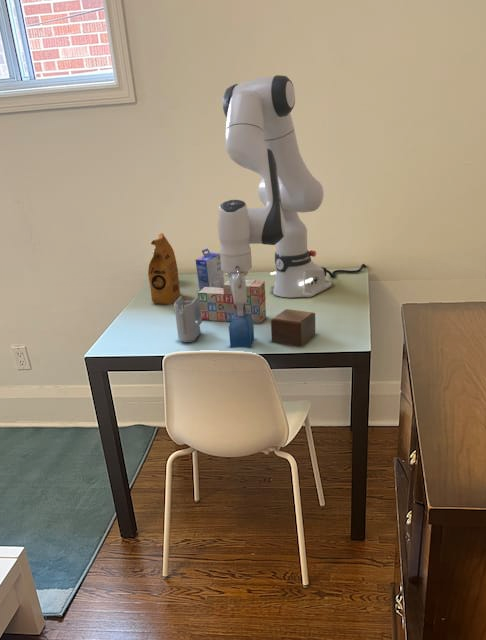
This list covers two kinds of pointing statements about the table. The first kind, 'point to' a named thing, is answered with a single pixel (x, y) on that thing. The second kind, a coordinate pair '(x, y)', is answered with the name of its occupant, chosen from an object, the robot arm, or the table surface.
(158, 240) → the coffee package
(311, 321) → the walnut block
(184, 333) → the cable organizer
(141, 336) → the table surface
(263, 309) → the stack of blocks
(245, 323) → the perfume bottle
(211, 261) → the ink cartridge box
